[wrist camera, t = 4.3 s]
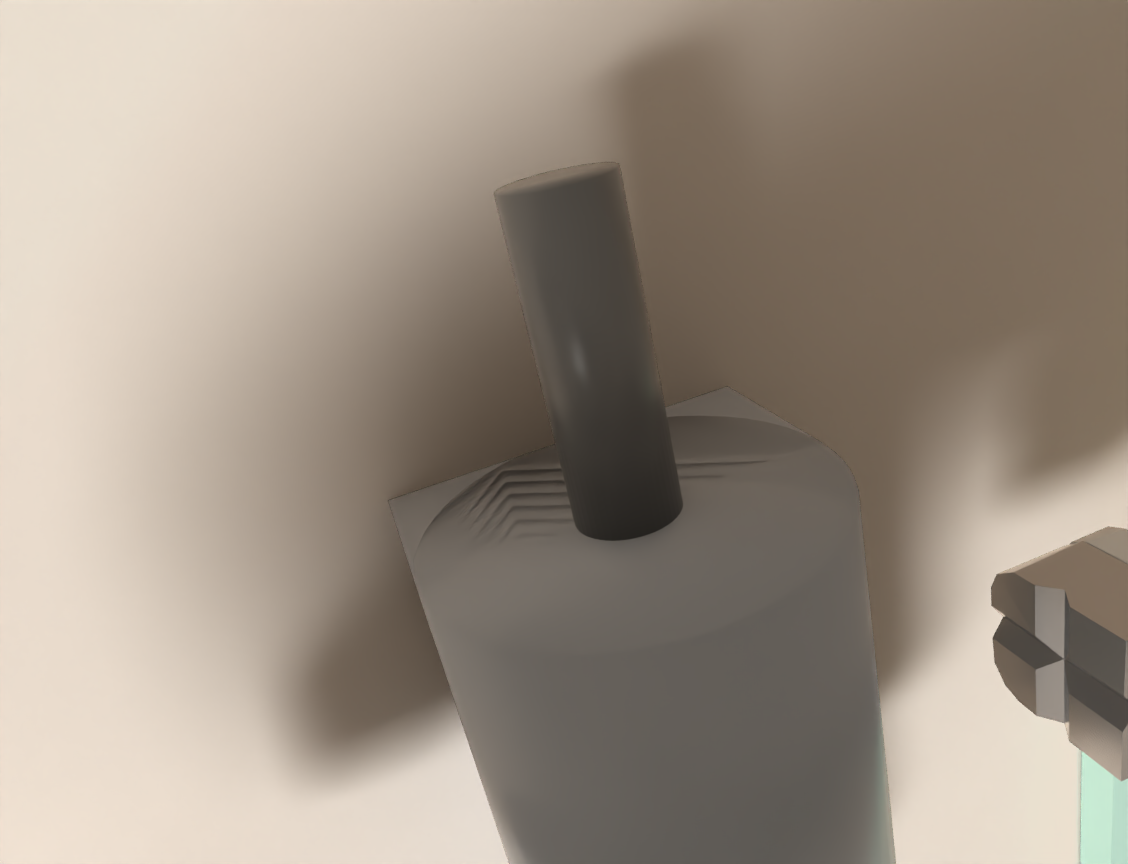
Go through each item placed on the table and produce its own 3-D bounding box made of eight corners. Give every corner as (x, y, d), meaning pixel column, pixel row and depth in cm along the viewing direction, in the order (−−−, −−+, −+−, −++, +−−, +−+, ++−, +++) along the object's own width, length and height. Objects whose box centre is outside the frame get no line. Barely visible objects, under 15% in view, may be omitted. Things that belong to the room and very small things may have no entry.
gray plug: (293, 218, 8) (317, 299, 5) (681, 114, 9) (947, 118, 6) (558, 1008, 13) (673, 1356, 9) (804, 893, 14) (997, 1171, 10)
